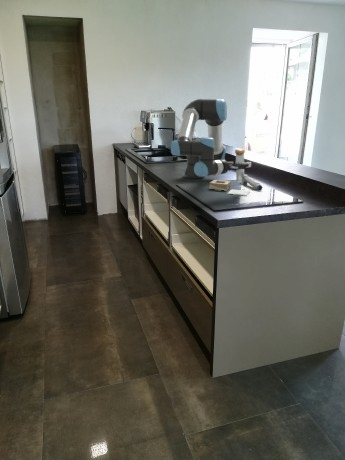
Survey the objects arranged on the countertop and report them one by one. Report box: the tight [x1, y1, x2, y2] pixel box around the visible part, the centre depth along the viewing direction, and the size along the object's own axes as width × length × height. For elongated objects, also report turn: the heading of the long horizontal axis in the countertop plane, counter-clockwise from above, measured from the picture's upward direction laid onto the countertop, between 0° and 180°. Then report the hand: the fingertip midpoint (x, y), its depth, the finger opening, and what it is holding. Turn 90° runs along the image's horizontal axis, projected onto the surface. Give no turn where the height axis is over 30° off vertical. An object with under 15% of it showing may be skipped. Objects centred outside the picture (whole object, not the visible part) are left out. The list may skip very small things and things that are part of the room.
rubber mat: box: [227, 188, 251, 197], centre depth 203 cm, size 11×11×1 cm
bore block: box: [209, 179, 232, 192], centre depth 213 cm, size 11×11×4 cm
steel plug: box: [234, 148, 246, 184], centre depth 197 cm, size 5×5×18 cm
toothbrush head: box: [240, 173, 263, 192], centre depth 220 cm, size 5×7×25 cm
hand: (247, 163), depth 200 cm, fingers closed on steel plug, 4 cm apart
